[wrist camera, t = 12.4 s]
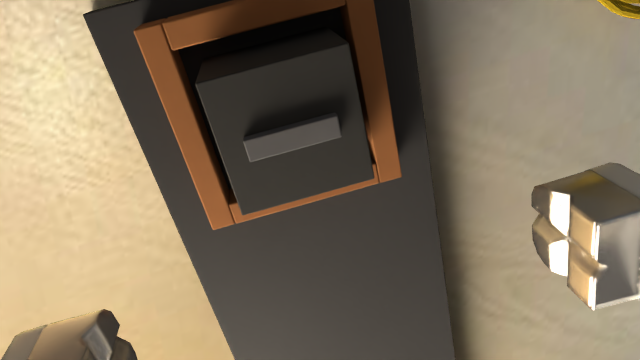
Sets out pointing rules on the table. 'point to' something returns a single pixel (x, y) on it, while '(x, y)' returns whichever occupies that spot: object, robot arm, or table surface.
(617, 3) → the extension cord
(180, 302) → the table surface
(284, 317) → the base pad
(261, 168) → the black block
